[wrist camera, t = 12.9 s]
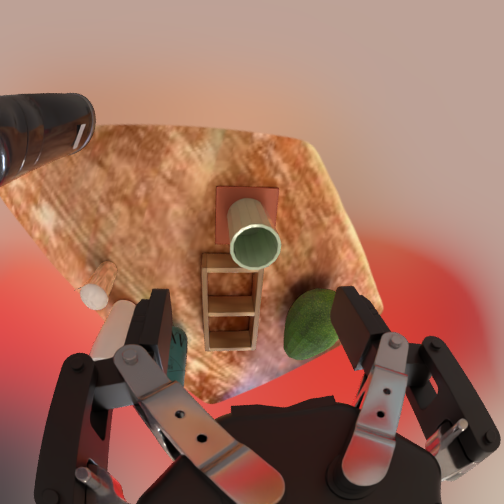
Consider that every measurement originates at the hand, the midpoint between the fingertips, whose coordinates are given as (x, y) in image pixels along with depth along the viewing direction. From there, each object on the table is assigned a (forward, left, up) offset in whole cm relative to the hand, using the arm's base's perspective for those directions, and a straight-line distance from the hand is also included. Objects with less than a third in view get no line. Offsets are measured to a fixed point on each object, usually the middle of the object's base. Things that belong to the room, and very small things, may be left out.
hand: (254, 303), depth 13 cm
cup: (+3, -7, -30) cm, 30 cm away
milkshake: (-20, -16, -30) cm, 40 cm away
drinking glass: (-18, -25, -30) cm, 43 cm away
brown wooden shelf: (+1, -22, -30) cm, 37 cm away
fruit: (+15, -25, -30) cm, 42 cm away
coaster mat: (+3, -7, -30) cm, 31 cm away
